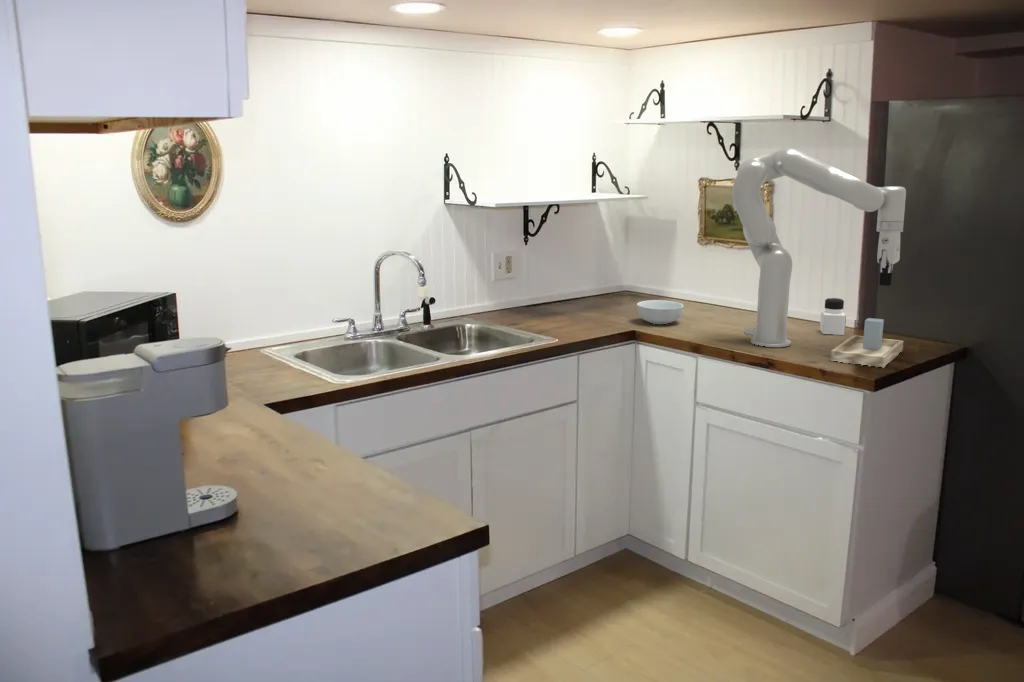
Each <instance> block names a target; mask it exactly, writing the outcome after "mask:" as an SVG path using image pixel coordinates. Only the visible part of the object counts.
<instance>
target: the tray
mask: <svg viewBox="0 0 1024 682" xmlns="http://www.w3.org/2000/svg"><path fill="white" fill-rule="evenodd" d="M863 338H864V335H863V336H862V335H857V334H855V335H852V336H850V337H848V338H846V340H844V341H843V342H841V343H840V344H838V345H837V346H836V347H834V348H833V349H831V350H830V360H829V361H830V362H833V361H838V362H837V363H840V362H843V363H842V364H848V363H851V364H850V365H855V364H861V365H860V366H863V365H868V366H867V367H871V366H875V367H874V368H878V367H882V368H881V369H885V367H886V365H887V364H888V363H889V364H890V363H891V362H893V360H894V359H896V357H897V356H898V355H900V354H901V353H902V352H903V349H904V340H901V339H890V338H889V339H888V338H883V337H882V345H881V348H880V349H879V350H869V349H863ZM900 352H901V353H900ZM899 353H900V354H899ZM889 364H888V365H889ZM888 365H887V366H888Z"/></svg>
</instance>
